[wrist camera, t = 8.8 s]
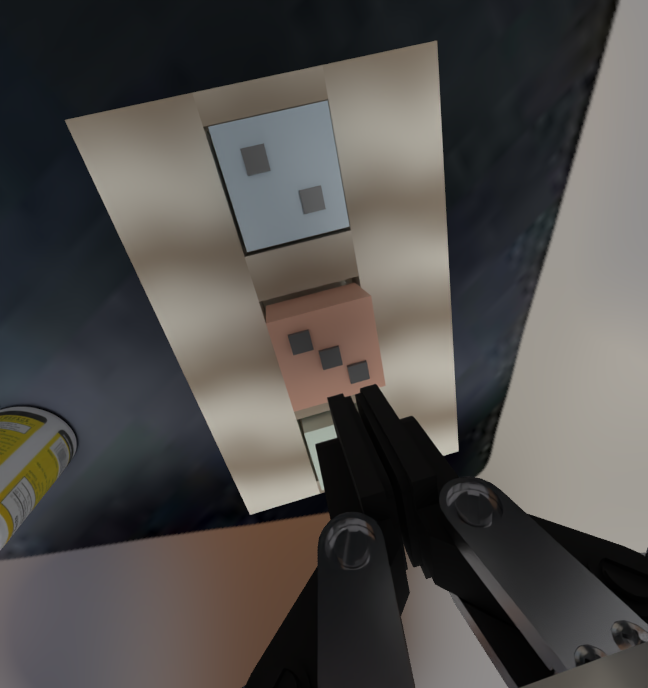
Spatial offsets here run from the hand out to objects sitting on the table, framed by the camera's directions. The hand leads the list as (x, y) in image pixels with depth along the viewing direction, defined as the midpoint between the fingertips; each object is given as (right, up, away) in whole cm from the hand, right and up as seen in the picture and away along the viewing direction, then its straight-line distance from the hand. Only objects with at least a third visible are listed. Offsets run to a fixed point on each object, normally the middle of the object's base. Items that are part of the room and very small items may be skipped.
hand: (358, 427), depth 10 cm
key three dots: (-1, +3, +8) cm, 8 cm away
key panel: (-2, +4, +10) cm, 11 cm away
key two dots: (-3, +11, +6) cm, 13 cm away
